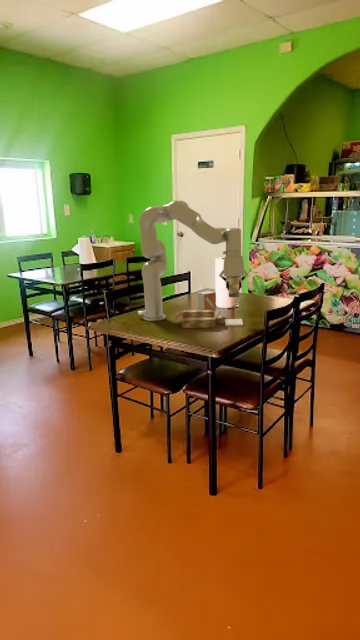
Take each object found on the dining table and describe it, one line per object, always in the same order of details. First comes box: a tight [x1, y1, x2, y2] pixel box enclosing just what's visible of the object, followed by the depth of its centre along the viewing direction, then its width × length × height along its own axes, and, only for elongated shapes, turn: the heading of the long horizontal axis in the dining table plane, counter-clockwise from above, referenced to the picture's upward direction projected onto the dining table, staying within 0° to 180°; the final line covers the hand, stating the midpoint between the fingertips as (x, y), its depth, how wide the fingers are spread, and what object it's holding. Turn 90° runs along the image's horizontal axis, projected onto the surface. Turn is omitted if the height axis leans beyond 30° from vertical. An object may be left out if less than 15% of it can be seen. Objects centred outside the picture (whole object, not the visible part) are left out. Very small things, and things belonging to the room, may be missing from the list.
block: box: [228, 277, 240, 298], centre depth 220 cm, size 5×6×10 cm
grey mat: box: [224, 318, 244, 327], centre depth 225 cm, size 9×10×1 cm
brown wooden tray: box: [174, 309, 222, 329], centre depth 226 cm, size 23×19×5 cm
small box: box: [197, 290, 217, 311], centre depth 242 cm, size 8×6×13 cm
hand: (233, 289), depth 220 cm, fingers closed on block, 5 cm apart
